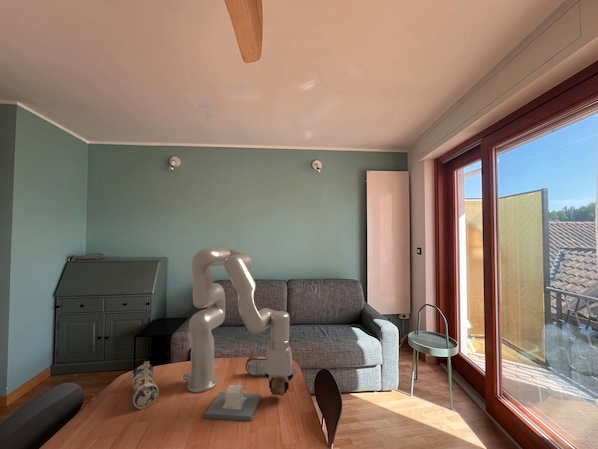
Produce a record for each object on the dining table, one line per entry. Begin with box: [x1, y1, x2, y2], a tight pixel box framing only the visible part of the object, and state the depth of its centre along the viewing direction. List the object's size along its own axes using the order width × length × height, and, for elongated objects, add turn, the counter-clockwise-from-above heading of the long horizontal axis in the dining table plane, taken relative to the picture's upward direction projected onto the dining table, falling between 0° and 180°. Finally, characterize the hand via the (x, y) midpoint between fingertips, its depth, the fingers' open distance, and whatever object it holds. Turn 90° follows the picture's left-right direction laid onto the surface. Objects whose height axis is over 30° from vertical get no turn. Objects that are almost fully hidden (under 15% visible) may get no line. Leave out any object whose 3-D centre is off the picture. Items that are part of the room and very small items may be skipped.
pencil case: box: [131, 360, 160, 410], centre depth 104 cm, size 22×8×10 cm, turn 35°
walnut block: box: [270, 375, 286, 396], centre depth 101 cm, size 5×5×5 cm
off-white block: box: [225, 384, 244, 407], centre depth 96 cm, size 5×5×5 cm
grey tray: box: [204, 391, 262, 422], centre depth 96 cm, size 17×13×2 cm
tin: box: [245, 355, 267, 377], centre depth 119 cm, size 15×3×8 cm, turn 89°
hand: (278, 389), depth 101 cm, fingers closed on walnut block, 5 cm apart
